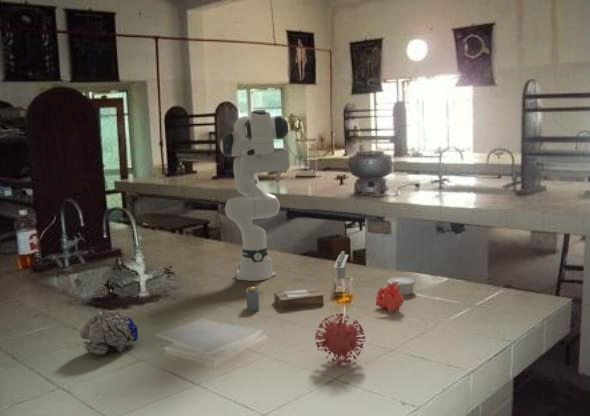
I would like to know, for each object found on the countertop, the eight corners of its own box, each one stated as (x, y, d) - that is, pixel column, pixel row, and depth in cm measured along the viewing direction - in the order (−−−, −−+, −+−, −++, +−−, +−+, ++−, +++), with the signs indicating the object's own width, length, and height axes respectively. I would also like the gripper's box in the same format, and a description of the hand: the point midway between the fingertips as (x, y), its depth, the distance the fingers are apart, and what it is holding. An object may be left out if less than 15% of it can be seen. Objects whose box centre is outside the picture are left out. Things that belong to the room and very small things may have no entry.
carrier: (247, 306, 250) (246, 288, 249) (259, 306, 250) (258, 288, 249) (247, 311, 245) (246, 292, 244) (258, 310, 245) (257, 291, 244)
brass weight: (248, 290, 248) (248, 286, 248) (256, 290, 248) (255, 286, 248) (248, 292, 245) (248, 288, 245) (255, 292, 245) (255, 288, 245)
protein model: (378, 309, 244) (381, 279, 245) (406, 314, 237) (409, 283, 238) (367, 309, 237) (371, 278, 238) (396, 314, 230) (399, 282, 231)
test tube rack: (339, 278, 289) (338, 249, 287) (349, 278, 288) (348, 249, 286) (334, 293, 265) (332, 262, 263) (344, 293, 264) (343, 262, 262)
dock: (274, 302, 255) (274, 292, 254) (314, 297, 260) (313, 287, 259) (282, 310, 244) (281, 299, 243) (323, 304, 248) (323, 294, 248)
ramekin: (386, 296, 256) (385, 283, 256) (388, 289, 267) (388, 277, 266) (414, 297, 254) (413, 284, 253) (415, 289, 264) (415, 277, 264)
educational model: (138, 364, 210) (151, 319, 214) (95, 357, 194) (109, 309, 197) (109, 356, 218) (122, 313, 221) (65, 349, 201) (79, 302, 205)
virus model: (306, 363, 189) (304, 316, 187) (339, 349, 199) (337, 304, 197) (343, 376, 179) (341, 326, 177) (375, 361, 189) (374, 313, 187)
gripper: (286, 146, 263) (289, 179, 265) (238, 151, 259) (241, 184, 261) (289, 147, 257) (292, 181, 259) (240, 152, 252) (243, 186, 255)
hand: (266, 182), depth 260 cm, fingers open, 8 cm apart
